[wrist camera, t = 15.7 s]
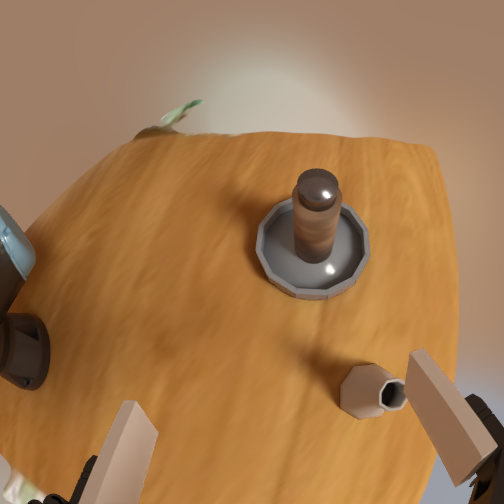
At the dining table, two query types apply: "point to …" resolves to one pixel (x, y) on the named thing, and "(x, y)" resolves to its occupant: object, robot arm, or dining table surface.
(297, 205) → the pepper mill
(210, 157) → the dining table surface
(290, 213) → the round grey tray
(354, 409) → the flask
